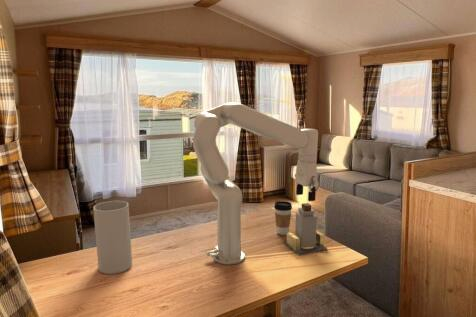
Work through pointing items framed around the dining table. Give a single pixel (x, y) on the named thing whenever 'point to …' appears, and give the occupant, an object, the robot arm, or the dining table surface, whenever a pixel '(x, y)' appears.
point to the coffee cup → (282, 216)
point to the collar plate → (294, 245)
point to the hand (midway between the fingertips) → (305, 197)
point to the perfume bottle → (306, 226)
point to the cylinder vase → (113, 236)
